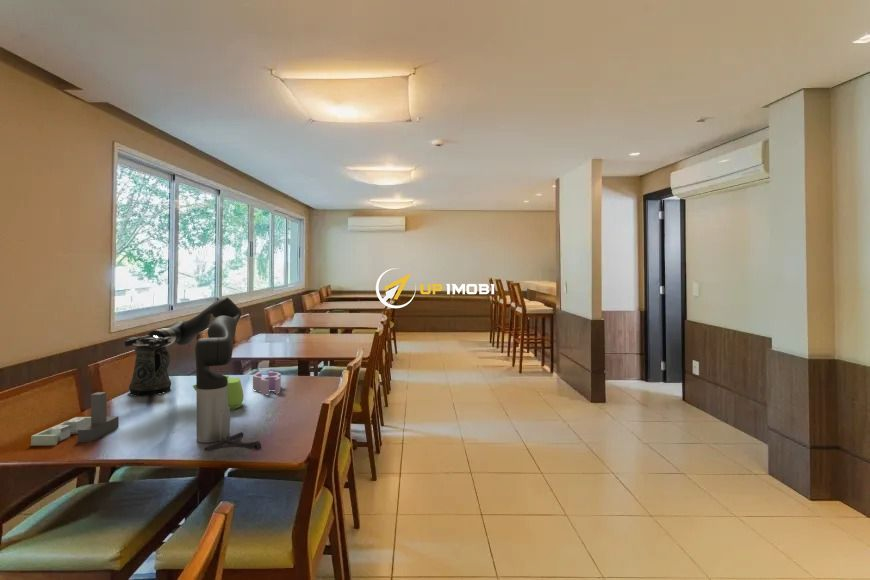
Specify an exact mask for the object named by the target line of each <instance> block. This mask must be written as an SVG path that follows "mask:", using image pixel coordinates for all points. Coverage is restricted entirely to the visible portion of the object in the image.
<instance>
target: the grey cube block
mask: <svg viewBox="0 0 870 580" xmlns="http://www.w3.org/2000/svg"><path fill="white" fill-rule="evenodd" d="M46 430H47V431H48V435H57V442H61V441H64V440H66V439H68V438H70V437H71V434H70V425H58V424H56V425H54V426H52V427H49V428H47V429H46Z"/></svg>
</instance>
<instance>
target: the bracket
mask: <svg viewBox="0 0 870 580" xmlns="http://www.w3.org/2000/svg"><path fill="white" fill-rule="evenodd" d="M243 435H244V432H242V431H240V432H238V433H236V434H234V435H231V436H228V437H226V438H225V439H224V440H222V441H216V442H214V443H212V444H211V445H208V446H206V447H205V448H204V451H215V450H219V449H224V448H234V447H238V448H239V447H243V448H248V449H249V448H250V449H253V448H254V449H253V450H260V449H262V443H261V442H260V441H259V440H256V441H251V442H243V441H242V438H243V437H244V436H243ZM255 448H257V449H255Z"/></svg>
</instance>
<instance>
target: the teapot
mask: <svg viewBox="0 0 870 580" xmlns="http://www.w3.org/2000/svg"><path fill="white" fill-rule="evenodd" d="M224 376H226V377H227V380H228V407H230V411H231V410H232V411H233V410H236V409H237V408H241V406H242V404H243V401H244V390H243V385H242V382H241V379H240V377H229V375H225V374H224ZM192 387H193V389H194V390H195V391H196V384H193V385H192Z"/></svg>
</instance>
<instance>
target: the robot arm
mask: <svg viewBox="0 0 870 580" xmlns="http://www.w3.org/2000/svg"><path fill="white" fill-rule="evenodd" d="M212 316H213V317H214V319H212ZM241 316H242V311H241V309H240V308H239V307H238V306H237V304H235V302H234V301H233V300H232V299H230V298H229V297H228V296H223V297H221V298H218V299H217V300H216V301H214V302H213V303H211V304H210V305H209V306H207V307H206V308H205V309H203V310H202V311H201V312H200V313H198V315H196V316H194V317H191V318H190V319H189V320H187V321H183V320H180V321H176V322H174V323H173V324H172V325H170V326H169V327H167V328H166V327H165V328H163V327H162V328H159V329H153V330H151V331H149V332H148V333H147V334H146V335H143V336H132V337H128V338H126V340H125V341H124V347H125V348H126V347H132V346H144V345H145V346H149V347H151V348H154V349H158V348H162V347H165V346H166V347H169V346H170V345H173V344H177V345H179V346H185V345H187V344H189V343H191V342H192V341H193V340H194V339H195V338H196V337H197V335H198V334H200V333H203V332H204V331H206V330H207V337H201V338H198V339H197V341H196V342H195V348H194V355H195V357H194V359H195V371H196V375H195V376H196V378H195V379H196V383H195V385H196V390H195V392H196V396H195V397H196V400H195V401H196V402H195V403H196V407H195V408H196V410H195V411H196V423H195V424H196V432H195V433H196V441H197V442H198V443H206V444H207V443H210V444H211V443H217V442H219V441H222V440H224V439H226V438H229V437H230V435H231V410H230V407H228V380H227V377H226V376H224V375H225V374H224V375H223V374H219V373H216V372H214V371H212V370H211V369H209V367H218V366H219V367H221V366H226V365H228V364H229V363H230V362H231V359H232V358H233V357H232V356H233V348H234V347H233V345H234V338H235V335H236V333H237V325H238V323H239V321H240V319H241ZM211 319H212V320H211ZM140 343H142V344H140Z"/></svg>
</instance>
